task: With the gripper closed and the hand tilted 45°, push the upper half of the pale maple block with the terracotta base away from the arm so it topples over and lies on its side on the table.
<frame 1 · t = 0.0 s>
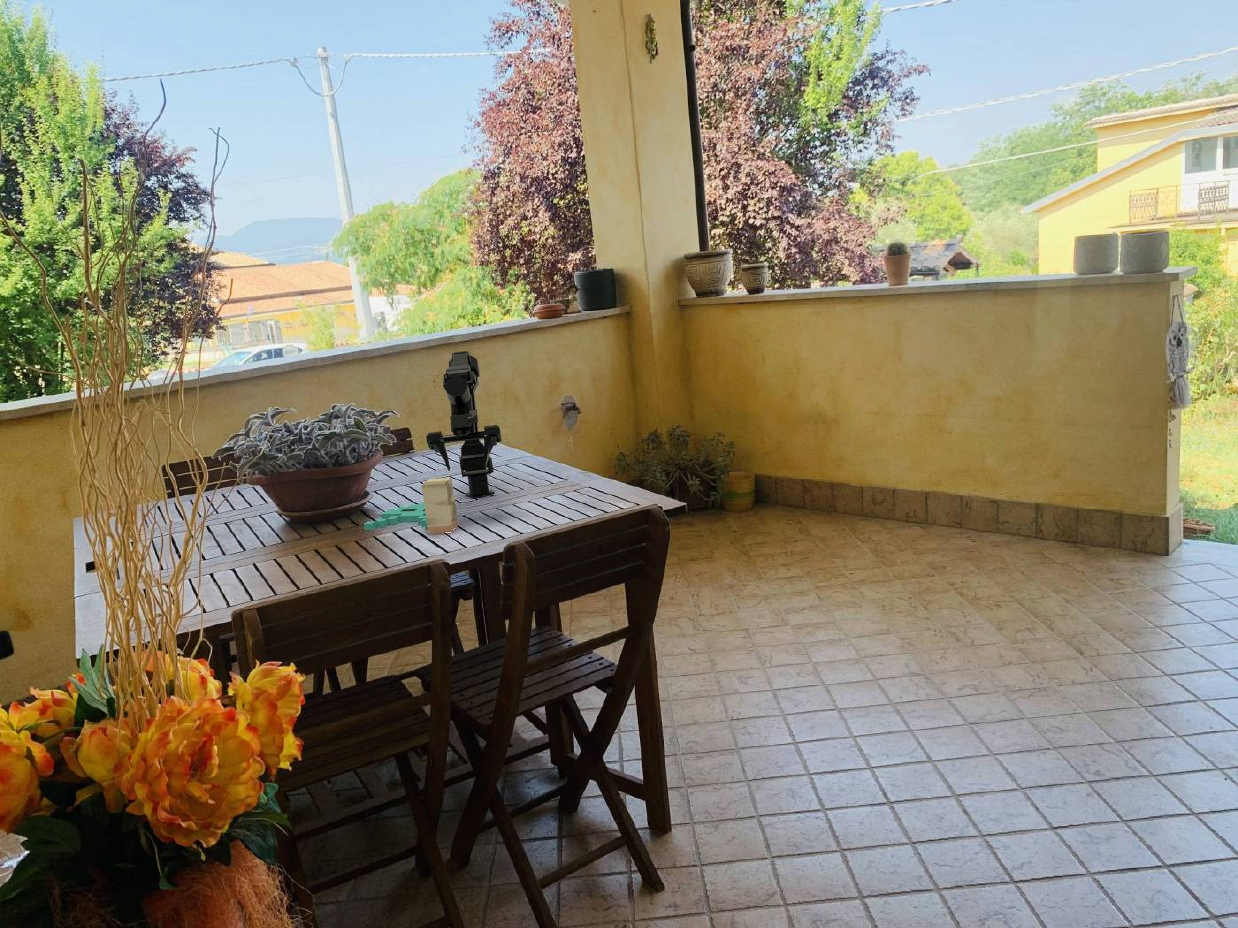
hand: (467, 468, 233), 15 cm above the table, tool tilted 35°, fingers open, 9 cm apart
maple block: (443, 530, 233), on the table
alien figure: (417, 520, 248), on the table
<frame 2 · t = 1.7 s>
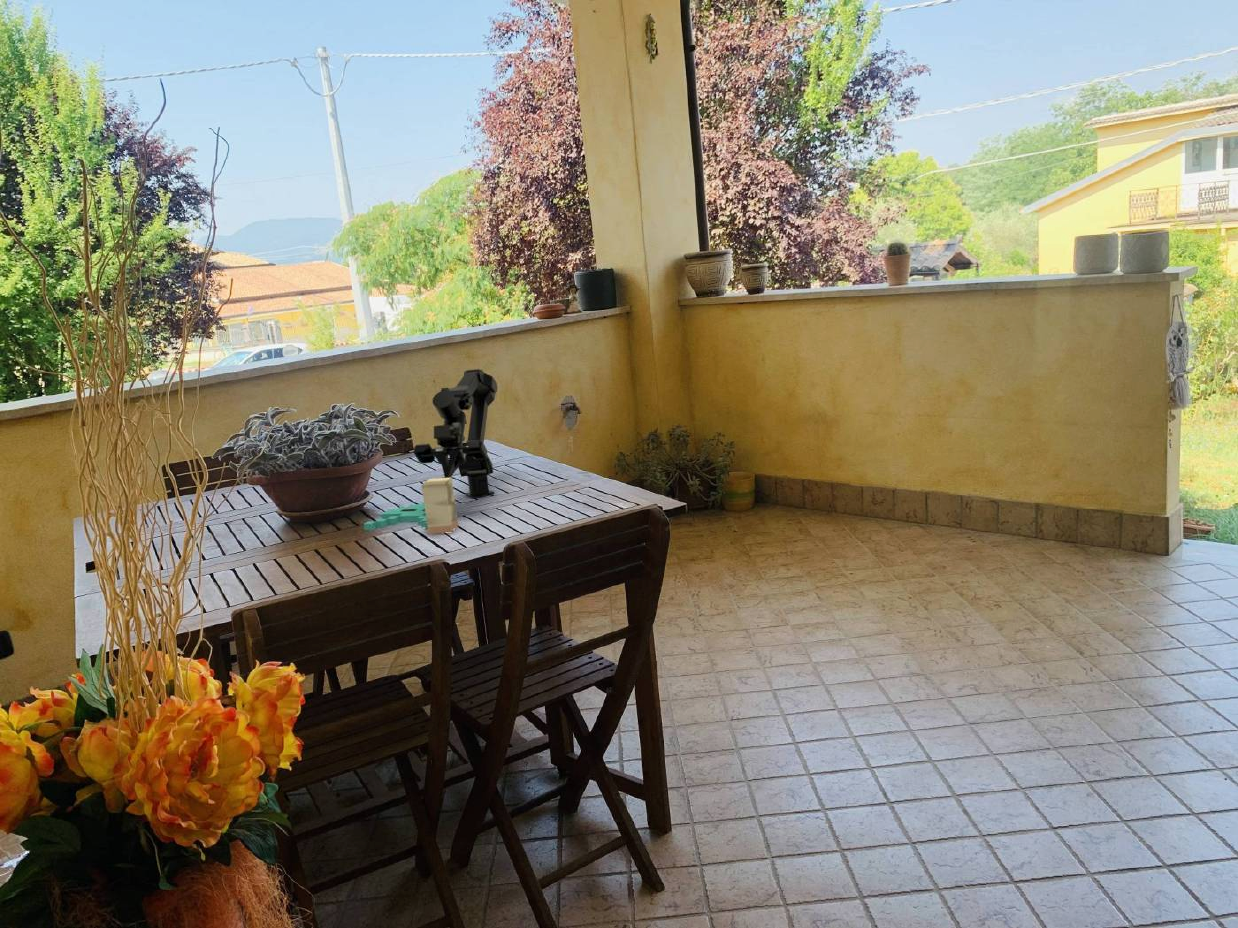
hand: (446, 479, 239), 11 cm above the table, tool tilted 45°, fingers closed
nothing on the table moved.
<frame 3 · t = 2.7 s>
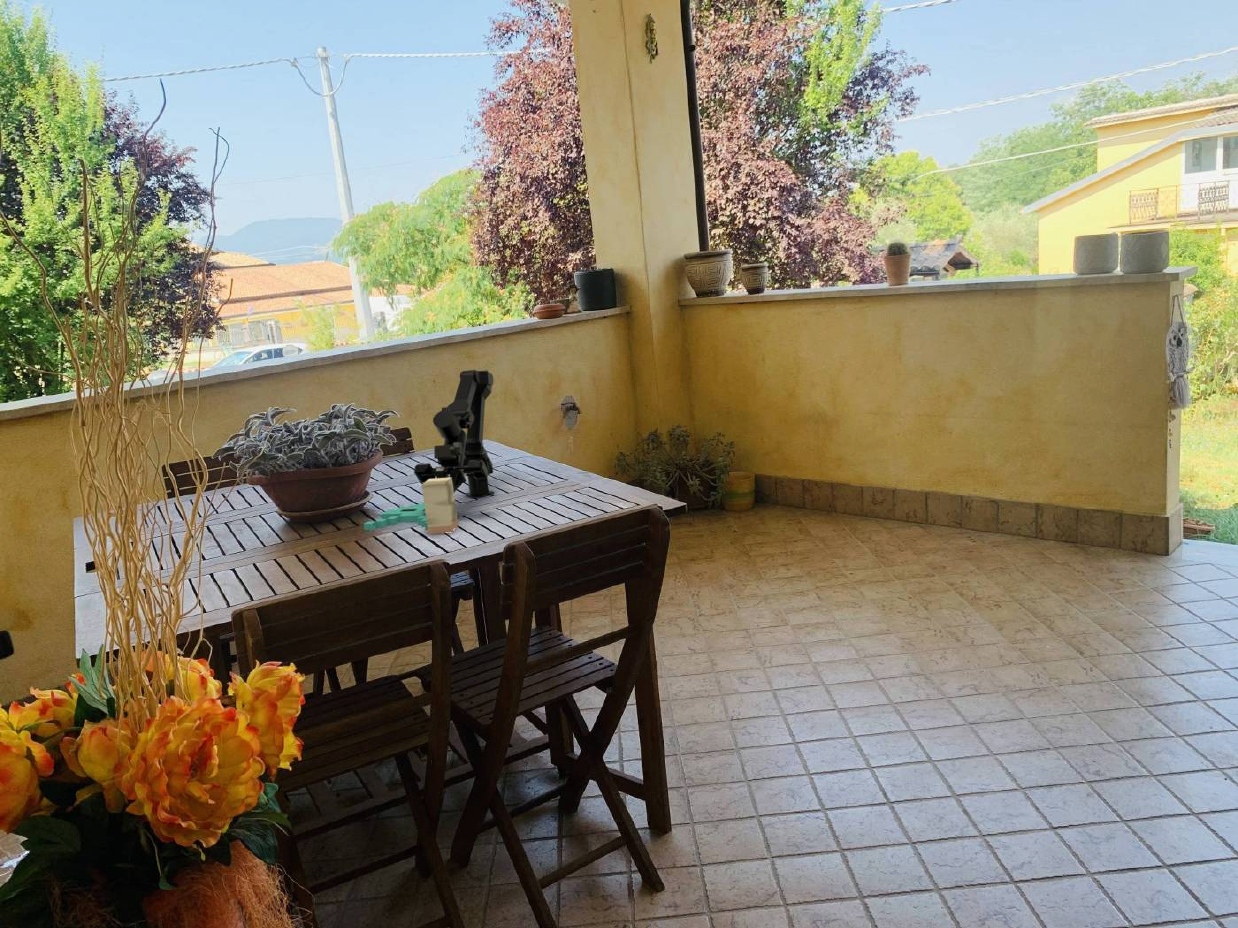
hand: (447, 498, 238), 7 cm above the table, tool tilted 45°, fingers closed
nothing on the table moved.
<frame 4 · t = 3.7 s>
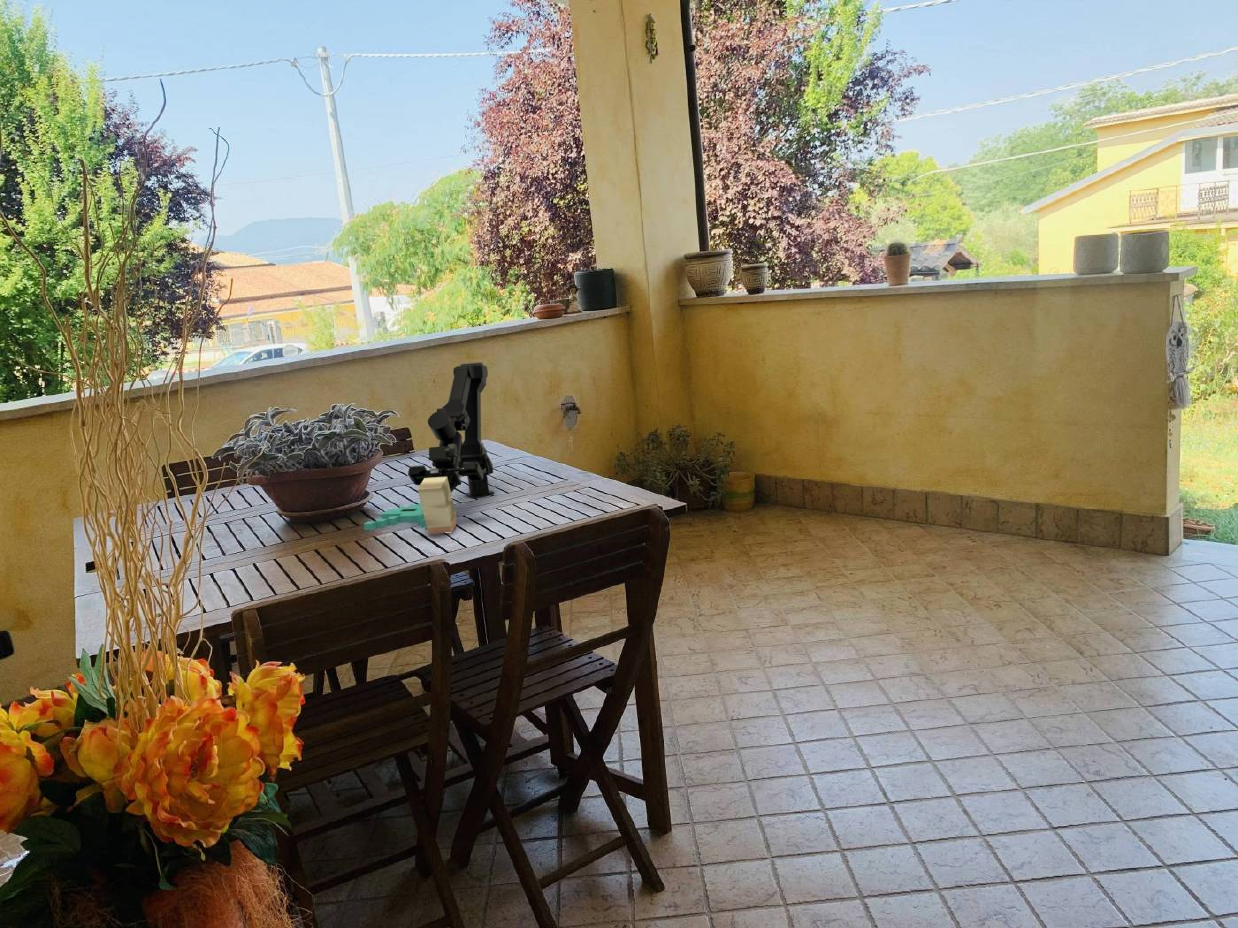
hand: (441, 501, 233), 7 cm above the table, tool tilted 45°, fingers closed
maple block: (443, 527, 233), point 1 cm above the table, tilted 14°
everything else where it was.
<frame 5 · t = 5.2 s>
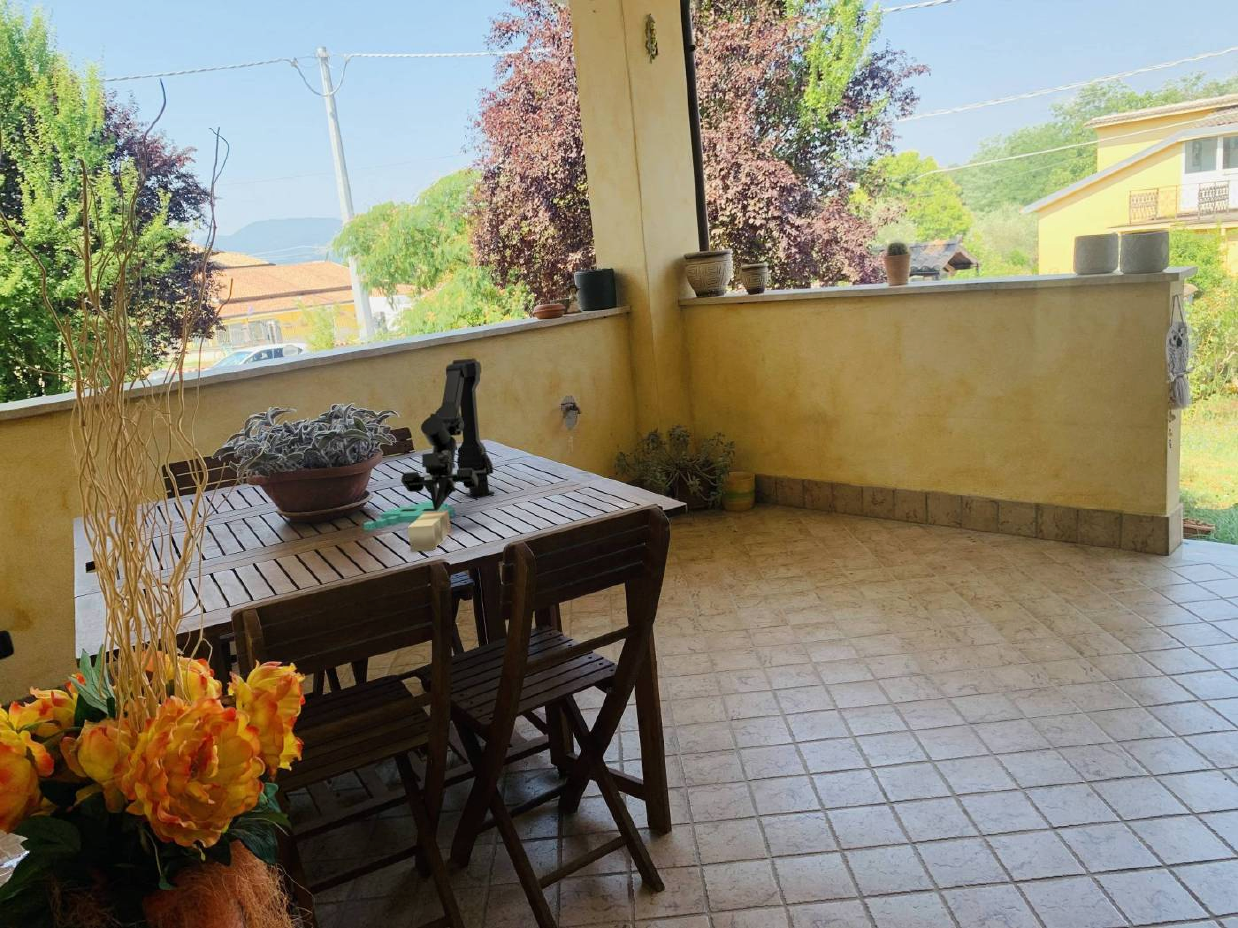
hand: (435, 509, 229), 7 cm above the table, tool tilted 45°, fingers closed
maple block: (438, 522, 230), point 3 cm above the table, tilted 90°
everything else where it was.
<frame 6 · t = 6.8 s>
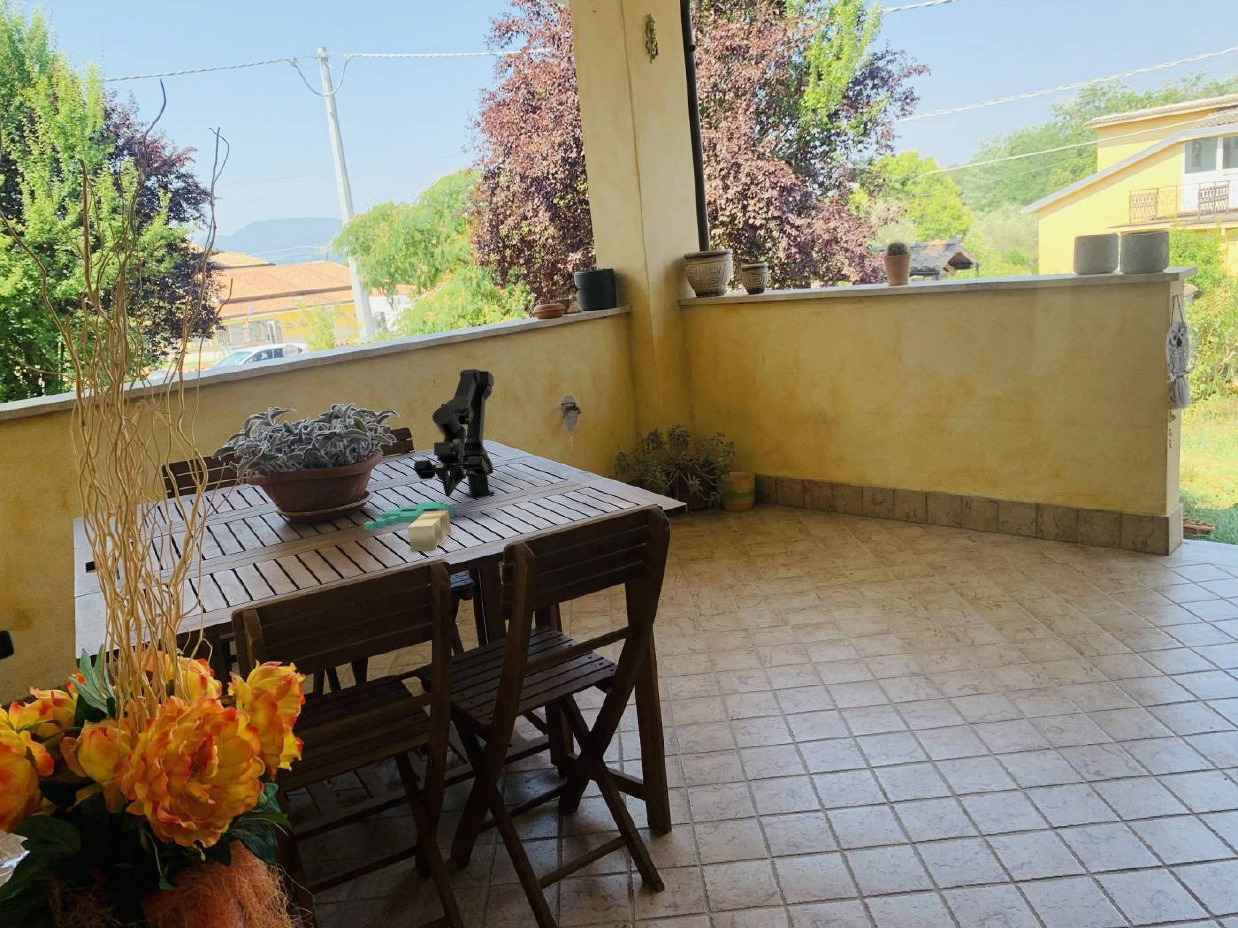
hand: (447, 495, 238), 7 cm above the table, tool tilted 45°, fingers closed
nothing on the table moved.
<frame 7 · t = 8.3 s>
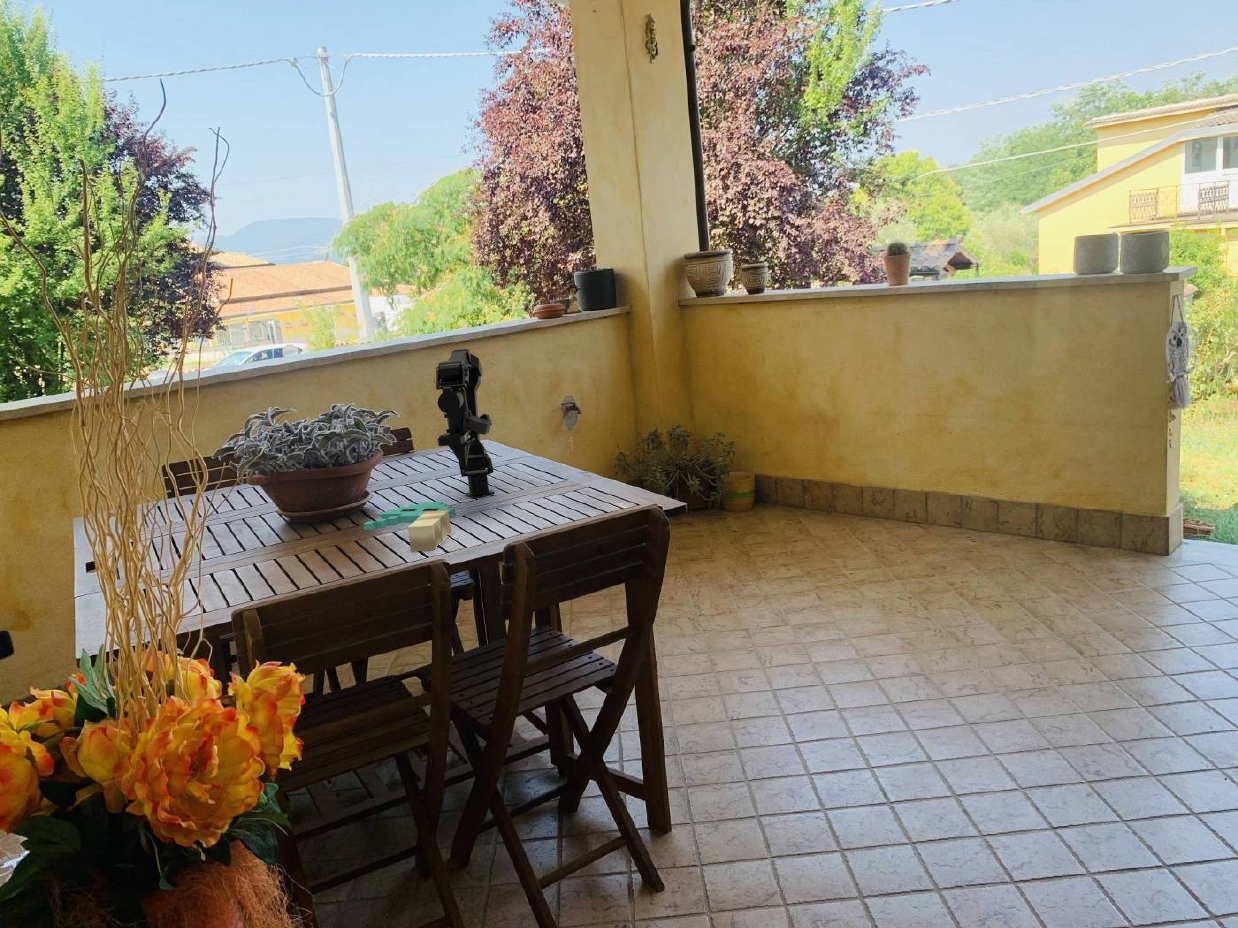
hand: (464, 465, 246), 13 cm above the table, tool pointing down, fingers closed
nothing on the table moved.
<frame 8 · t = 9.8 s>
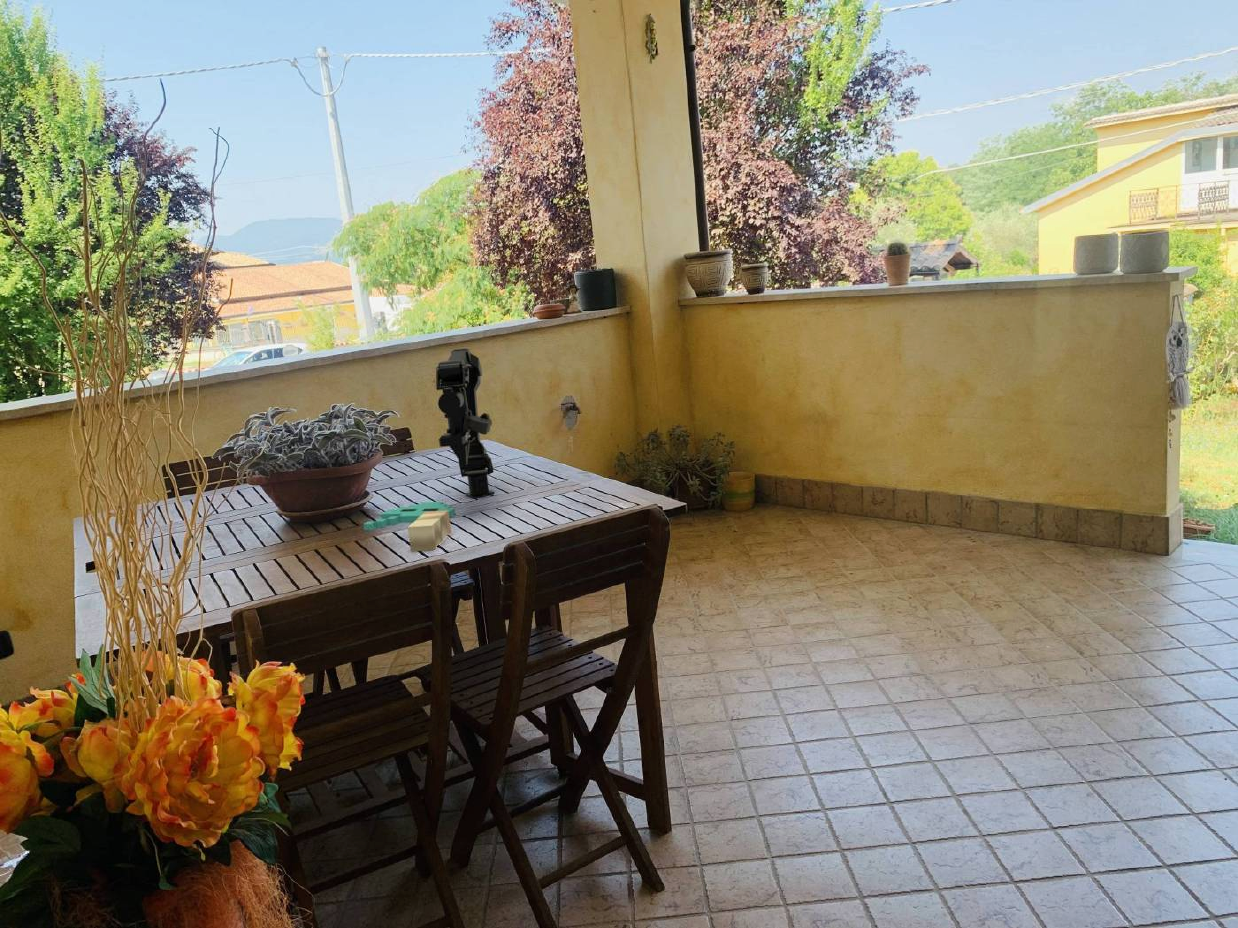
hand: (464, 465, 246), 13 cm above the table, tool pointing down, fingers closed
nothing on the table moved.
at the end: maple block tilted 90°; maple block inside the target area (2.8 cm from its centre), point 2.9 cm above the table; the gripper is holding nothing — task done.
